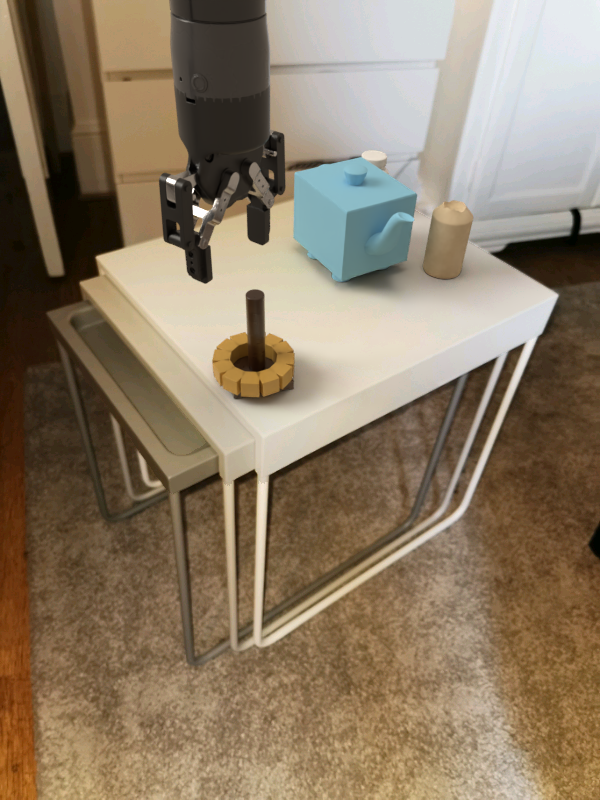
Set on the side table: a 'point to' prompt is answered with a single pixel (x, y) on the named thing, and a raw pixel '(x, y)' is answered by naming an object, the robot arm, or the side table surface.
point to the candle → (447, 239)
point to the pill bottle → (376, 159)
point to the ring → (253, 381)
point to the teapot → (352, 217)
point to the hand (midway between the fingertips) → (230, 260)
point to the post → (256, 338)
